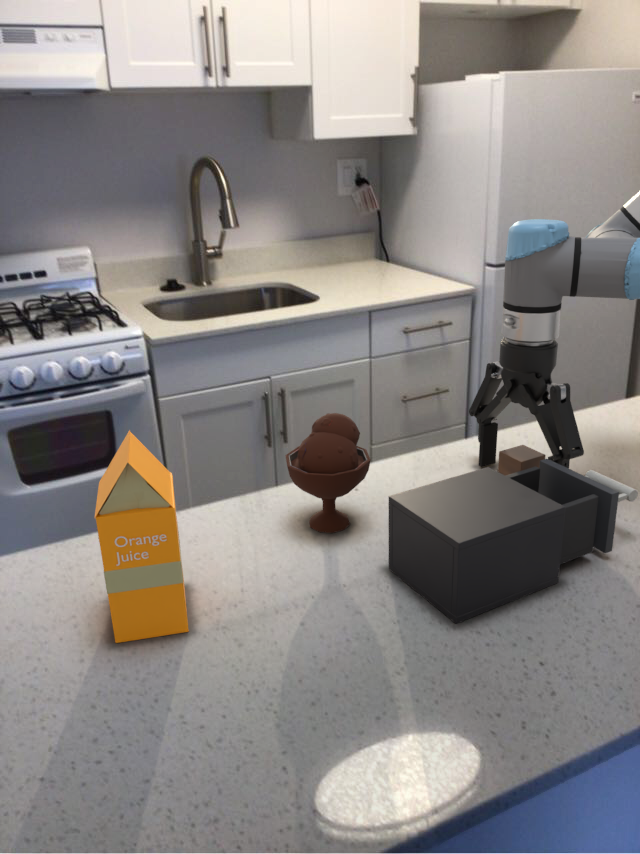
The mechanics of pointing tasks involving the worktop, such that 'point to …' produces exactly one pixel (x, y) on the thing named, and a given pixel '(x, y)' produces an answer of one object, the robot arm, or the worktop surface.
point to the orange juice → (140, 545)
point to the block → (518, 459)
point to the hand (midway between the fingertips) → (518, 481)
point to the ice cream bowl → (329, 467)
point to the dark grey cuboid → (475, 541)
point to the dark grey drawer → (579, 504)
